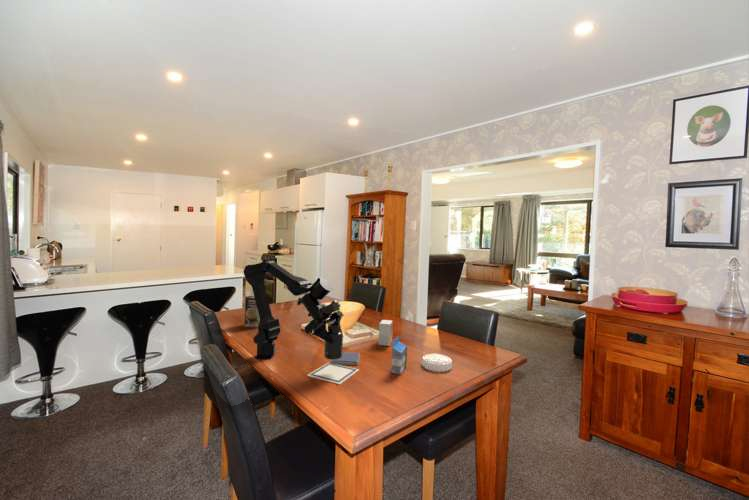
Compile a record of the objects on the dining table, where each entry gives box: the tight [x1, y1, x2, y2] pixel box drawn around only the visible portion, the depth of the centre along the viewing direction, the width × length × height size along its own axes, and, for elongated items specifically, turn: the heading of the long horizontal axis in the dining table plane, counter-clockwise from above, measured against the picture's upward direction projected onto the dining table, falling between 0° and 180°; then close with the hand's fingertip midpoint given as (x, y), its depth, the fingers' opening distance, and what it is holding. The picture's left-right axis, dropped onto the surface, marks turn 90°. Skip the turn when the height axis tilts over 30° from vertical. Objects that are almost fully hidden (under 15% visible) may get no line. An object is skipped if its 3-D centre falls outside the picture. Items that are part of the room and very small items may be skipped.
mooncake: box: [421, 352, 453, 373], centre depth 133 cm, size 12×12×4 cm
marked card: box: [306, 362, 360, 385], centre depth 123 cm, size 14×14×1 cm
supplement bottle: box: [323, 323, 344, 361], centre depth 122 cm, size 7×7×12 cm
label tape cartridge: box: [390, 335, 408, 376], centre depth 127 cm, size 9×4×12 cm, turn 160°
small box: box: [378, 319, 394, 347], centre depth 159 cm, size 8×6×10 cm
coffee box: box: [244, 295, 260, 329], centre depth 181 cm, size 9×6×16 cm
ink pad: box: [330, 351, 361, 366], centre depth 136 cm, size 11×11×1 cm
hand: (337, 340), depth 122 cm, fingers closed on supplement bottle, 7 cm apart
